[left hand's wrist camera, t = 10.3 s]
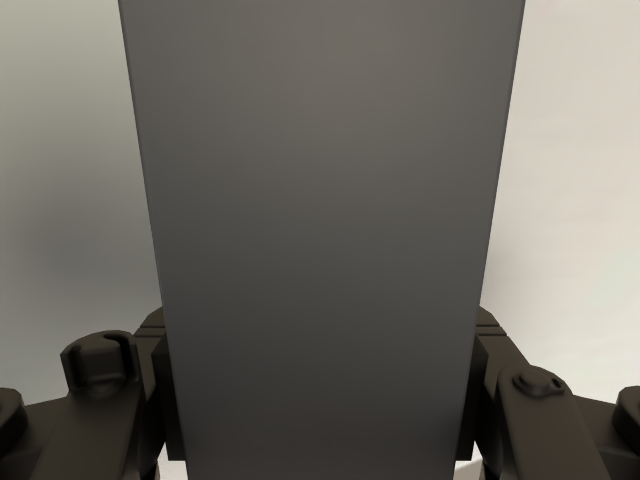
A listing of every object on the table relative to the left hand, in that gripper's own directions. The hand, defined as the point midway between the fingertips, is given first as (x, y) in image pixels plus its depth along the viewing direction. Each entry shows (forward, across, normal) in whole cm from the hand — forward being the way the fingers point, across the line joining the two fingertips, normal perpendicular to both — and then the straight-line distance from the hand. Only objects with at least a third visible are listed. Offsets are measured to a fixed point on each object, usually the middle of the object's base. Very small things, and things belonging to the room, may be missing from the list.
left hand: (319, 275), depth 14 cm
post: (+1, 0, -21) cm, 21 cm away
